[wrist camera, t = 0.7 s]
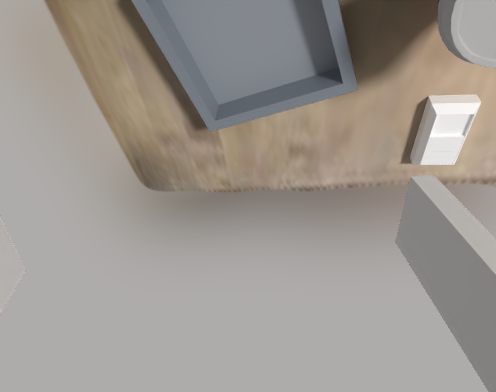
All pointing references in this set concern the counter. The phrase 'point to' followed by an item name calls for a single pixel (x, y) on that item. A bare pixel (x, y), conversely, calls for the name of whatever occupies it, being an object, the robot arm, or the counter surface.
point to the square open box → (252, 54)
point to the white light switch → (443, 129)
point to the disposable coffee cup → (469, 29)
